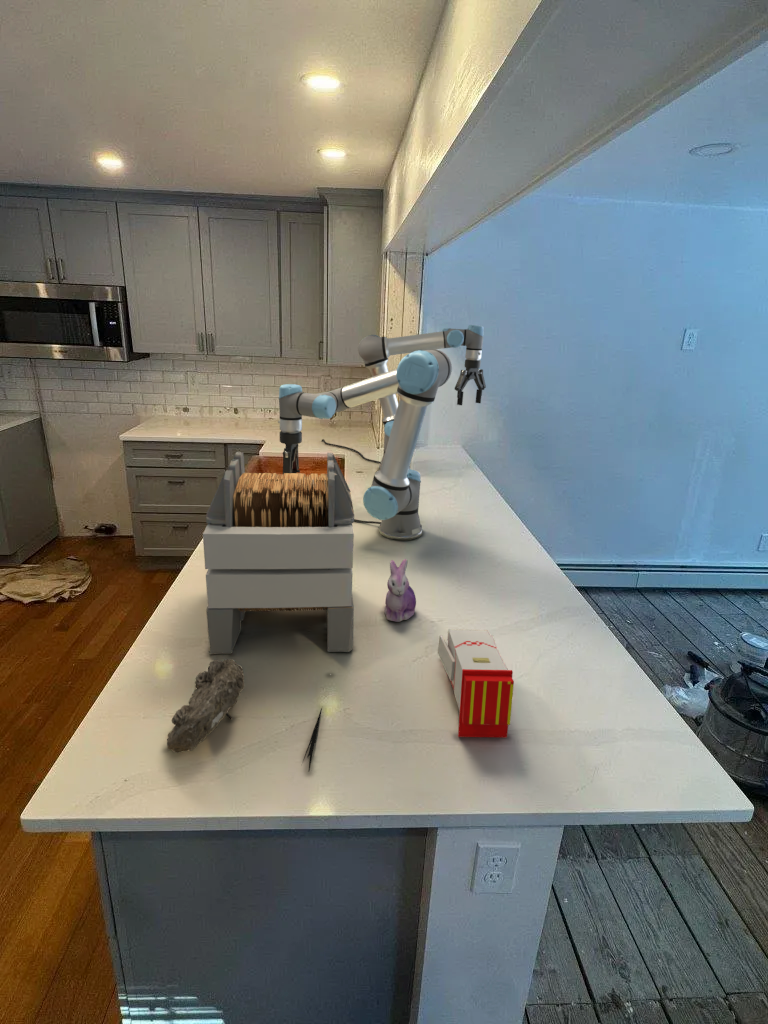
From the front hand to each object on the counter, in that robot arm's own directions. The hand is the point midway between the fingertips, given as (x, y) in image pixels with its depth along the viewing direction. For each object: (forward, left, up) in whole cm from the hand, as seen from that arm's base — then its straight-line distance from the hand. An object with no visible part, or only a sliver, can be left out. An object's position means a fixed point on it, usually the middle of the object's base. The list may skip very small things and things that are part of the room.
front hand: (291, 494), depth 200 cm
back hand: (-19, +114, +21) cm, 117 cm away
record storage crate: (+54, -36, -11) cm, 66 cm away
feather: (+91, -50, -11) cm, 105 cm away
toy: (+103, -21, -11) cm, 106 cm away
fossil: (+78, -66, -11) cm, 103 cm away
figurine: (+71, -11, -11) cm, 72 cm away
